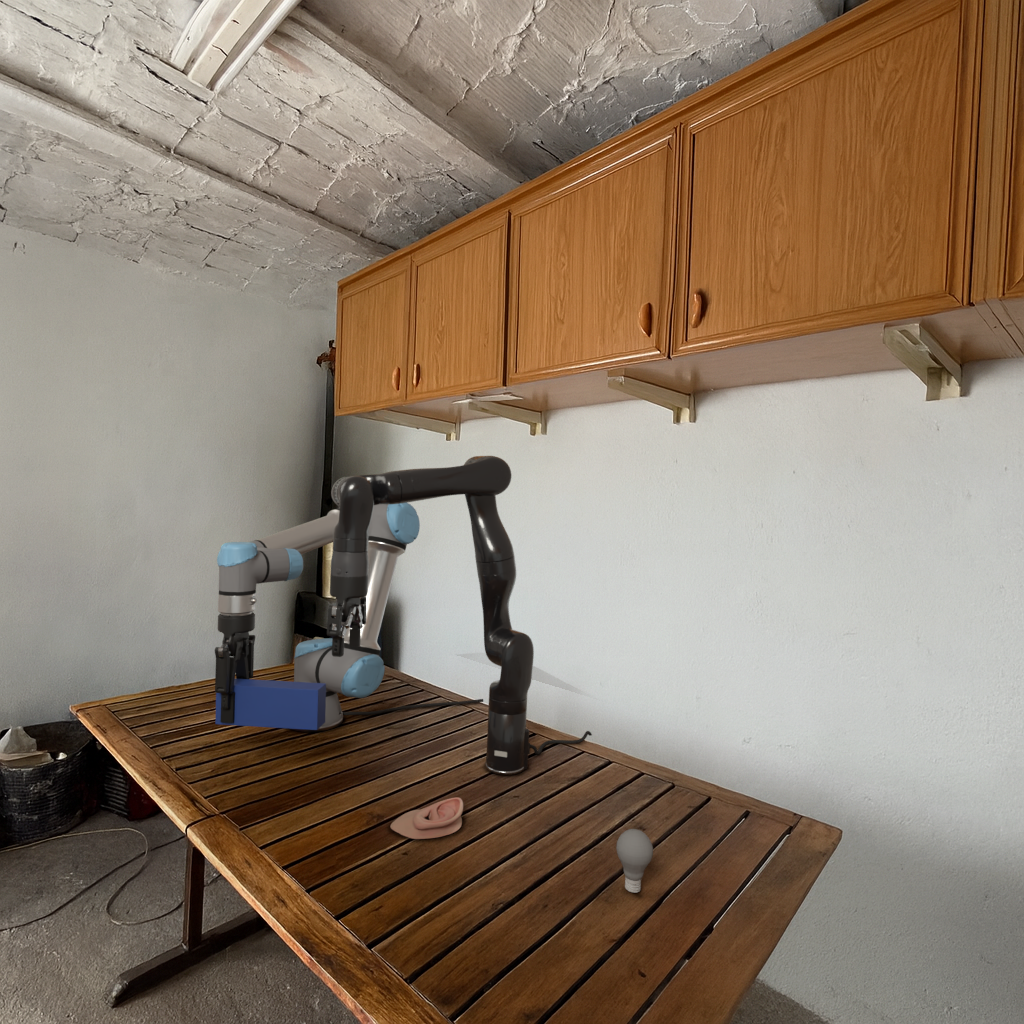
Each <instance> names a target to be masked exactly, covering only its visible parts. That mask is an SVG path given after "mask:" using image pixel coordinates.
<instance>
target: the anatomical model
mask: <svg viewBox="0 0 1024 1024" xmlns="http://www.w3.org/2000/svg"><path fill="white" fill-rule="evenodd" d="M463 812H464V801H463V799H462V797H450V798H446V799H443V800H440V801H438V802H435V803H433V804H430V805H428V806H426V807H424V808H421V809H413V810H410V811H408V812H405V813H404V814H402V815H400V816H398V817H397V818H395V819H394V820H393V821H392V822H391V824H390V829H391V830H392V831H394V832H395V833H397V834H399V835H401V836H403V837H405V838H409V839H412V840H425V839H427V840H428V839H435V838H441V837H445V836H448V835H452V834H453V833H456V832H457V831H459V830H460V829H461V827H462V825H463V819H462V814H463Z"/></svg>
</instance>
